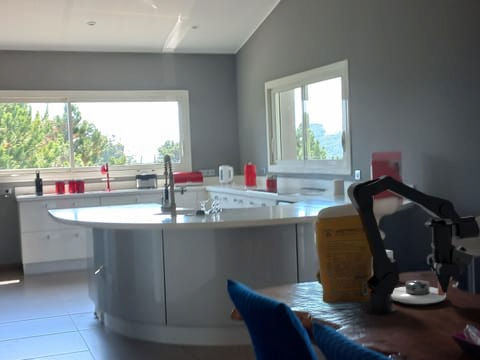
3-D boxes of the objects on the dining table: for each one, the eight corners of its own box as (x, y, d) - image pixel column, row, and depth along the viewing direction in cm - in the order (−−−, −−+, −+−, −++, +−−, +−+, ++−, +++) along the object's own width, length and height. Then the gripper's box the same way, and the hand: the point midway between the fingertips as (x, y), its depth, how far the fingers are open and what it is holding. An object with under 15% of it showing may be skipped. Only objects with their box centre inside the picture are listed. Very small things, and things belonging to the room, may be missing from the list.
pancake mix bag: (380, 303, 176) (375, 214, 175) (319, 305, 178) (314, 217, 177) (377, 297, 183) (373, 212, 182) (318, 299, 185) (313, 215, 184)
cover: (422, 296, 172) (421, 284, 171) (401, 293, 177) (400, 281, 177) (434, 291, 176) (433, 280, 176) (413, 288, 182) (412, 277, 182)
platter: (428, 306, 165) (427, 289, 165) (378, 298, 177) (378, 281, 177) (456, 294, 176) (455, 278, 176) (407, 287, 189) (406, 272, 189)
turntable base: (425, 307, 168) (425, 304, 168) (390, 301, 177) (390, 298, 177) (444, 299, 177) (444, 296, 176) (410, 293, 185) (410, 290, 185)
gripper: (479, 245, 157) (482, 300, 158) (462, 235, 176) (464, 284, 176) (438, 246, 159) (440, 301, 159) (425, 236, 177) (427, 285, 178)
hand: (444, 292), depth 168 cm, fingers closed
